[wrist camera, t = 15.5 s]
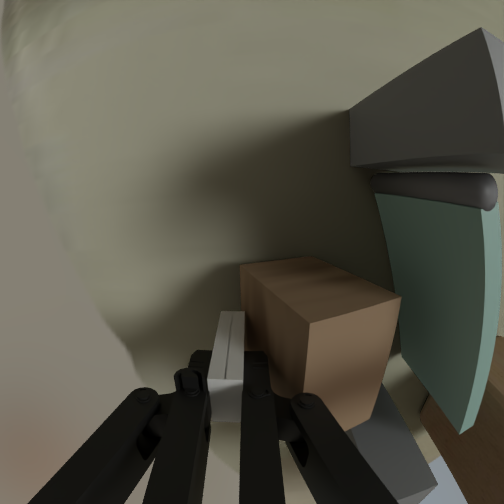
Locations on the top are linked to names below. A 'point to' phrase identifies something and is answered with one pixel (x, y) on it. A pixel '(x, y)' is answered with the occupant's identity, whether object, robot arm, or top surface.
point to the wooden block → (475, 439)
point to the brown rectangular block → (320, 332)
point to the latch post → (393, 452)
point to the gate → (445, 280)
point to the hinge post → (437, 113)
